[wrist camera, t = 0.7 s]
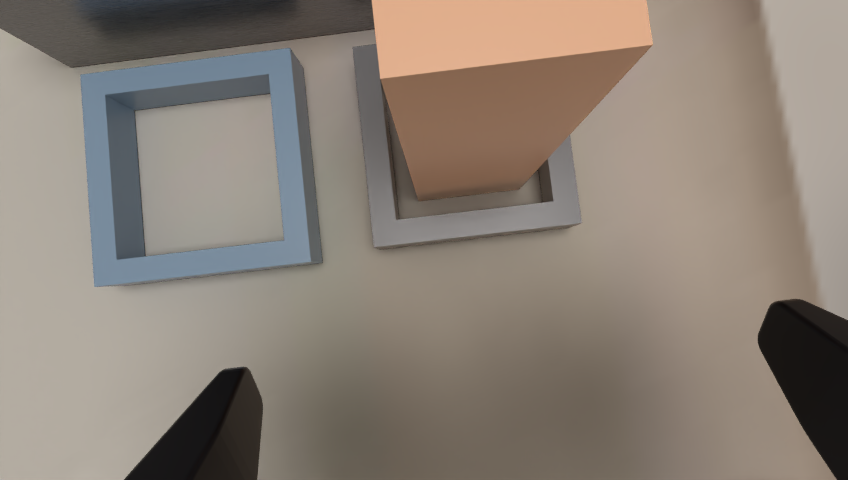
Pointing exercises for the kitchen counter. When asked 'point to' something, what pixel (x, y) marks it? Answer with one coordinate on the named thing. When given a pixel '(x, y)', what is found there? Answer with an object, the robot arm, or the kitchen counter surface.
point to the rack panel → (171, 25)
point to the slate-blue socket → (119, 173)
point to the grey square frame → (395, 232)
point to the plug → (498, 82)
